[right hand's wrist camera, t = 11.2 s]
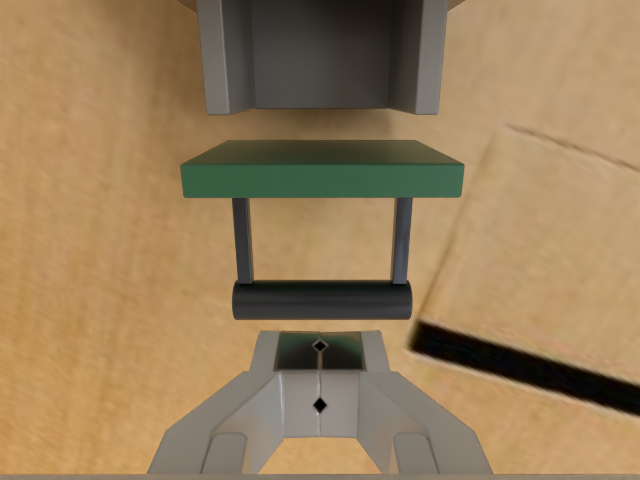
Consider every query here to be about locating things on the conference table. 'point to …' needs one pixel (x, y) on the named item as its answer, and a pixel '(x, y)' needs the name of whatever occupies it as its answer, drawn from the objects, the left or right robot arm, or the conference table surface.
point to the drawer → (322, 155)
